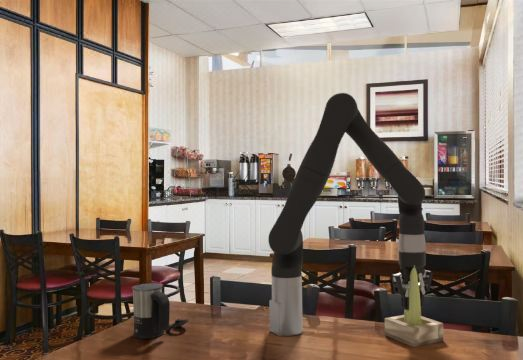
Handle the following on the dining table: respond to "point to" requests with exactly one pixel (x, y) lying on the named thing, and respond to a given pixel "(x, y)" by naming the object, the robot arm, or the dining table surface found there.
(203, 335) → the dining table surface
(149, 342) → the dining table surface
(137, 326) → the milk frother
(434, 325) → the socket block
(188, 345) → the dining table surface
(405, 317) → the tube
